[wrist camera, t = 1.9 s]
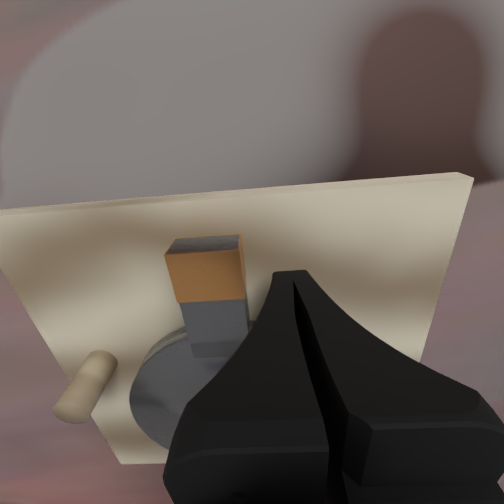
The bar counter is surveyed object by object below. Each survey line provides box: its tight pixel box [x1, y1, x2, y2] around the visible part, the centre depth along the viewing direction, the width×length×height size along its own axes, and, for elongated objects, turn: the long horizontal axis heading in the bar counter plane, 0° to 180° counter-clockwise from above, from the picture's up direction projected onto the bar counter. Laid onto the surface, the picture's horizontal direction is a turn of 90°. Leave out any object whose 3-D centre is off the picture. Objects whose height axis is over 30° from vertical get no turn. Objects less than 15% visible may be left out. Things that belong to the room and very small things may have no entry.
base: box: [0, 172, 474, 464], centre depth 14 cm, size 20×20×6 cm
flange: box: [129, 233, 255, 450], centre depth 13 cm, size 14×10×1 cm
